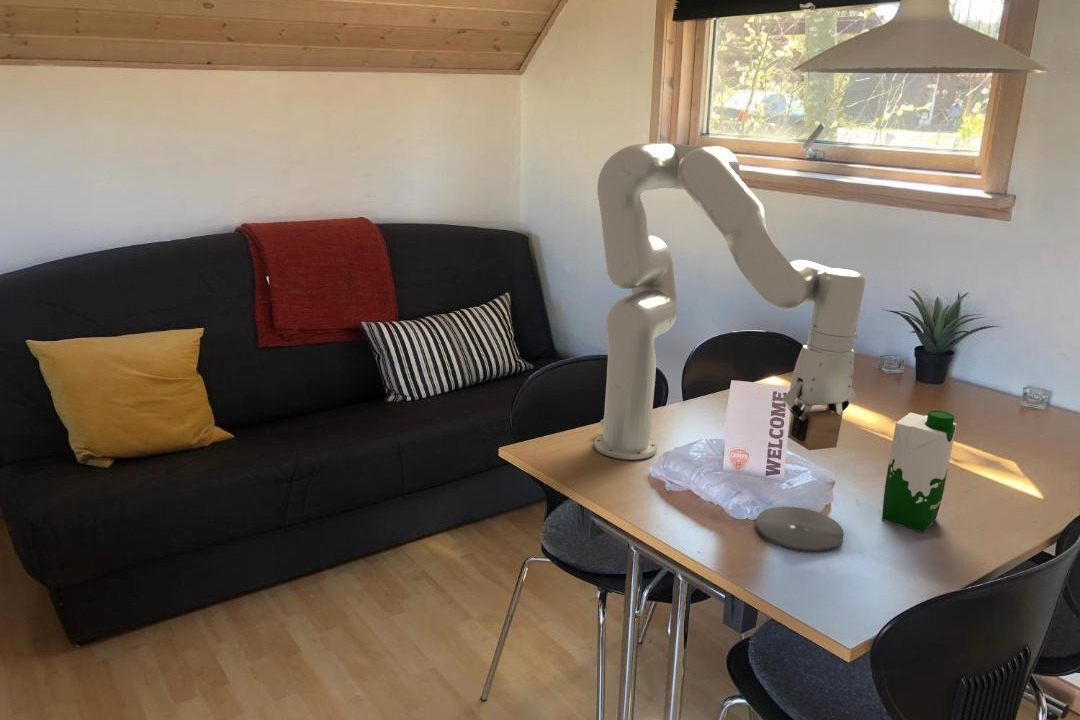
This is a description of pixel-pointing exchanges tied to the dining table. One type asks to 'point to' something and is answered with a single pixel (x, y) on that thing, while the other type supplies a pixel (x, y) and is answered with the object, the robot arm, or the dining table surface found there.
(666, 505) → the dining table surface
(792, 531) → the slate plate
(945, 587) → the dining table surface
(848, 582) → the dining table surface
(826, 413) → the walnut cube
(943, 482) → the soya milk
